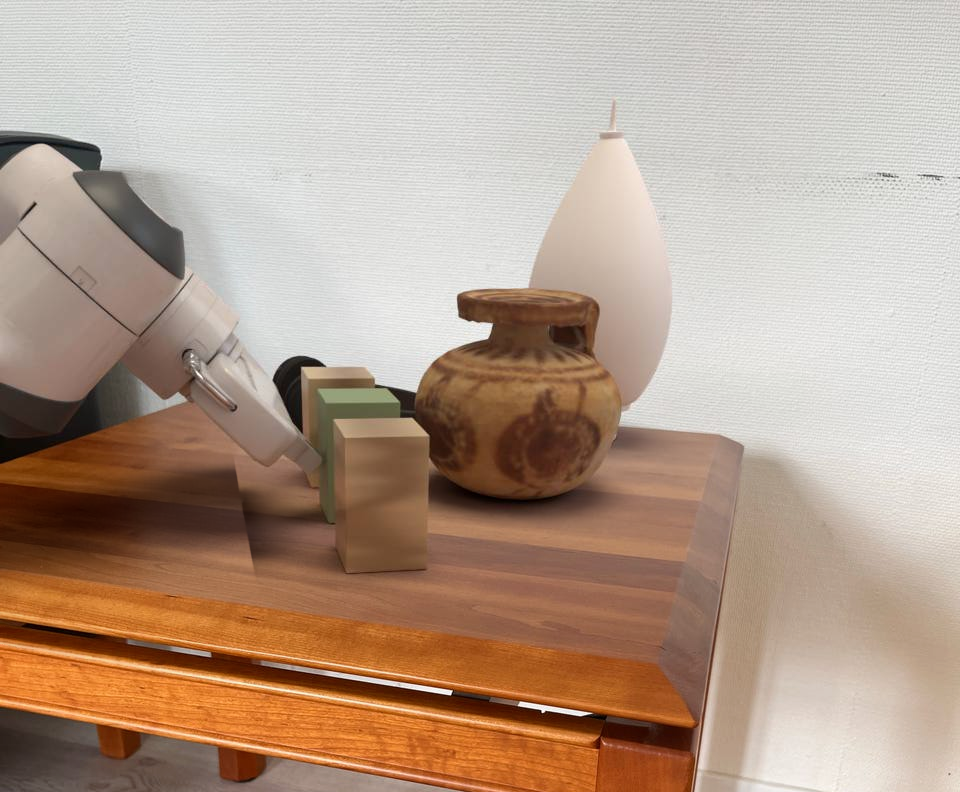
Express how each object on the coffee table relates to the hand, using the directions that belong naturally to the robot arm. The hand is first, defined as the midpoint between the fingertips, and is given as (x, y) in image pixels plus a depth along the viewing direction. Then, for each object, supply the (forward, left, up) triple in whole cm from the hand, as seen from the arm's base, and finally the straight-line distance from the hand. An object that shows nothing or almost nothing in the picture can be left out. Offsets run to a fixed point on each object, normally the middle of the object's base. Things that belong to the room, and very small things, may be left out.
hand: (315, 464), depth 85 cm
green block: (+4, 0, -4) cm, 6 cm away
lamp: (+34, +26, -5) cm, 44 cm away
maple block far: (+3, +11, -4) cm, 13 cm away
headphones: (+9, +32, -5) cm, 34 cm away
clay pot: (+19, +6, -5) cm, 21 cm away
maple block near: (+3, -12, -4) cm, 13 cm away
